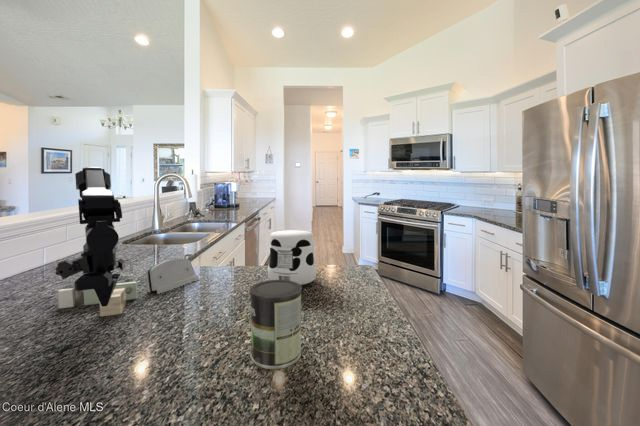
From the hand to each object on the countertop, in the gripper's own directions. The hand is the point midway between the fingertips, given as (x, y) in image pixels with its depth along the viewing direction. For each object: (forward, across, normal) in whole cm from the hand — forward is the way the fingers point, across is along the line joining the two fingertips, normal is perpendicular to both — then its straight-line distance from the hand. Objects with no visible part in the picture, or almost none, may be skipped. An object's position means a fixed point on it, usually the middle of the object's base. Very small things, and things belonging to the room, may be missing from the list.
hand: (104, 305), depth 74 cm
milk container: (+4, -11, +53) cm, 54 cm away
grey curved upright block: (+5, -25, +14) cm, 29 cm away
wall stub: (+4, -16, -13) cm, 21 cm away
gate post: (+4, -16, -10) cm, 19 cm away
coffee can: (+4, +31, +36) cm, 48 cm away
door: (+4, -15, -2) cm, 16 cm away
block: (+4, -8, 0) cm, 9 cm away
